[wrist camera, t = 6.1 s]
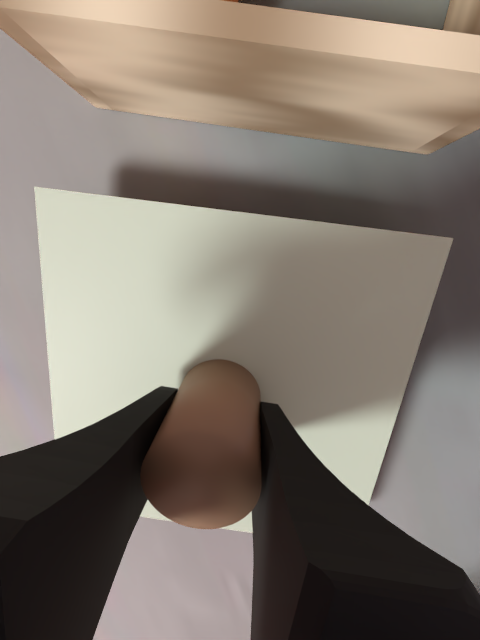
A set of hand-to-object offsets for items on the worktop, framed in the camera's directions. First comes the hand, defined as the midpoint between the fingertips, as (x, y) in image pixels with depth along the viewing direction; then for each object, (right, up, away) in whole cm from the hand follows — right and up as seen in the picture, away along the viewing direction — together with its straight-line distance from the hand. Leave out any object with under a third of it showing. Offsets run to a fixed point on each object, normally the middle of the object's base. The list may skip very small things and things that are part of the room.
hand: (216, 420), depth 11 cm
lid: (0, +1, +1) cm, 1 cm away
